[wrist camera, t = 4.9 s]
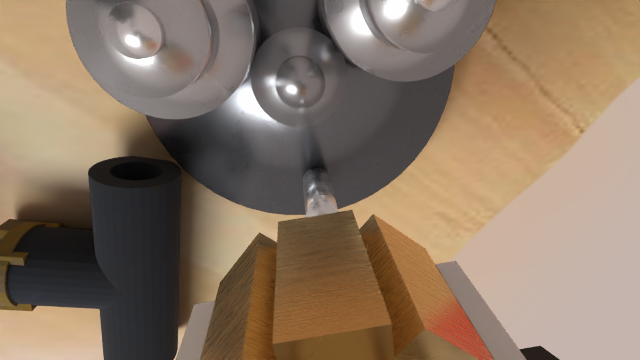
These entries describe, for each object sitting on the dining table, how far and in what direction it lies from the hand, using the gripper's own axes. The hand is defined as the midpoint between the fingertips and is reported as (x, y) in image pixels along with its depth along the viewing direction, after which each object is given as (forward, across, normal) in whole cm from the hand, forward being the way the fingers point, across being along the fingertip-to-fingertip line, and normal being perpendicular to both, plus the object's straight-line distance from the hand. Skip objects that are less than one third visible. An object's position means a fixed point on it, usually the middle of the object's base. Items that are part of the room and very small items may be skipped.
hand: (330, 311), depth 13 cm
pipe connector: (+13, -16, -3) cm, 21 cm away
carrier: (+13, 0, +7) cm, 15 cm away
